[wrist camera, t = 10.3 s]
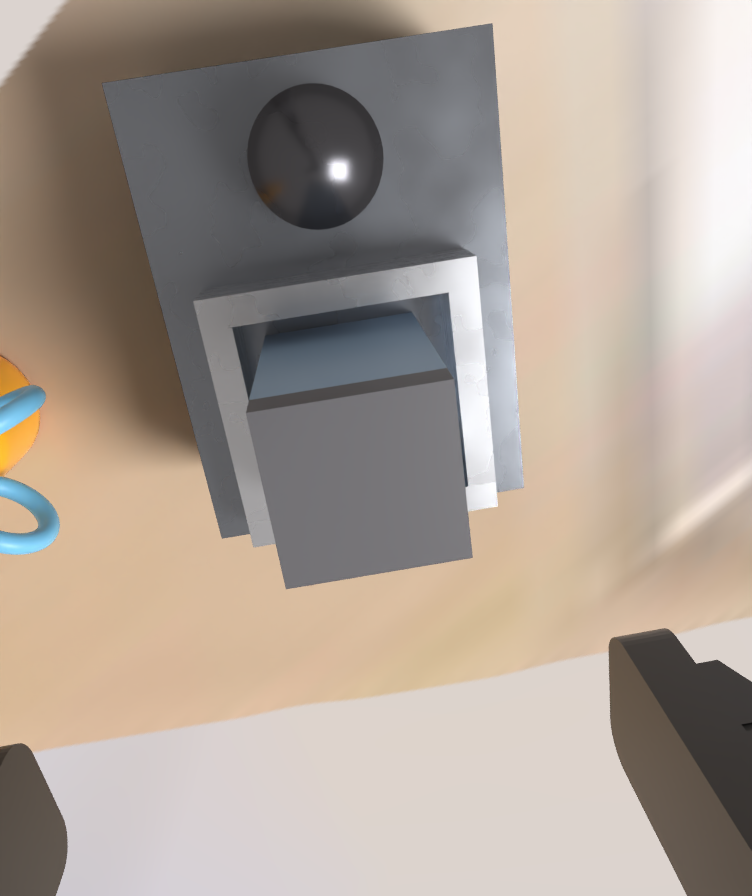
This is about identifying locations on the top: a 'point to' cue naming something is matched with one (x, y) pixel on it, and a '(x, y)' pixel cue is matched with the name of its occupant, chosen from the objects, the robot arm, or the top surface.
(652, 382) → the top surface
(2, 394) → the cylinder
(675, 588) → the top surface
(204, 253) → the grey boxy piece
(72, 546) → the top surface
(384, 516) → the grey lidded box
